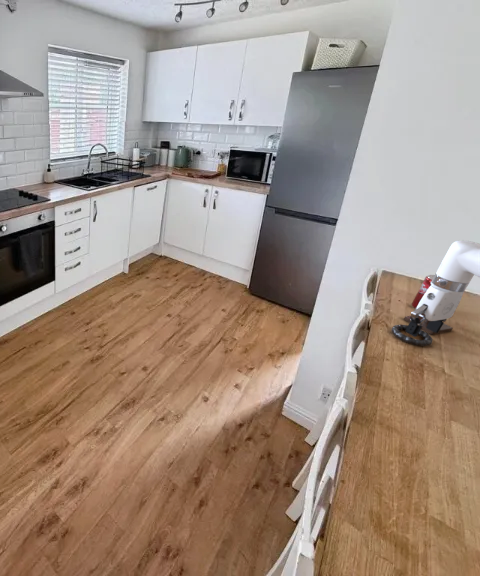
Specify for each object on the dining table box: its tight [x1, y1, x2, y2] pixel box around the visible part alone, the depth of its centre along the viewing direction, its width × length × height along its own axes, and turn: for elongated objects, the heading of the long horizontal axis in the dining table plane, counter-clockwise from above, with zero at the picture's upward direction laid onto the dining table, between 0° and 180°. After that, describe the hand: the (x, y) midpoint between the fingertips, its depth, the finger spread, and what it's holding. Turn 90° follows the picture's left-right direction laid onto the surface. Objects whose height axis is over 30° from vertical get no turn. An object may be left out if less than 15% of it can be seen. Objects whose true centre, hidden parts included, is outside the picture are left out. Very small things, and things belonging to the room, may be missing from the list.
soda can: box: [411, 274, 435, 310], centre depth 128 cm, size 7×7×12 cm
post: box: [403, 314, 454, 336], centre depth 118 cm, size 9×9×14 cm
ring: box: [391, 324, 434, 347], centre depth 114 cm, size 10×10×2 cm
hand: (421, 332), depth 115 cm, fingers open, 8 cm apart
